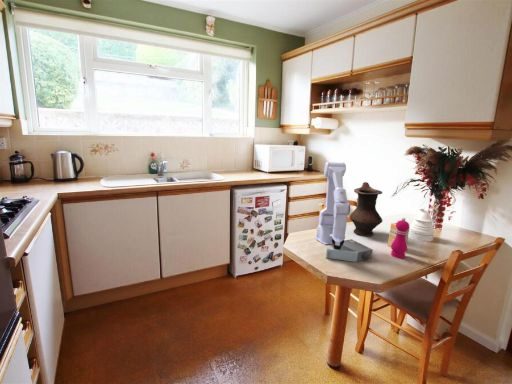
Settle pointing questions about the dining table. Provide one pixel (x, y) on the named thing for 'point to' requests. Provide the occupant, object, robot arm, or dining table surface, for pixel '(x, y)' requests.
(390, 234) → the supplement box
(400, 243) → the pepper mill
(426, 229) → the honey pot
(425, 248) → the dining table surface
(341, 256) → the side door
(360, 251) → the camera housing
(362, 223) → the jug
